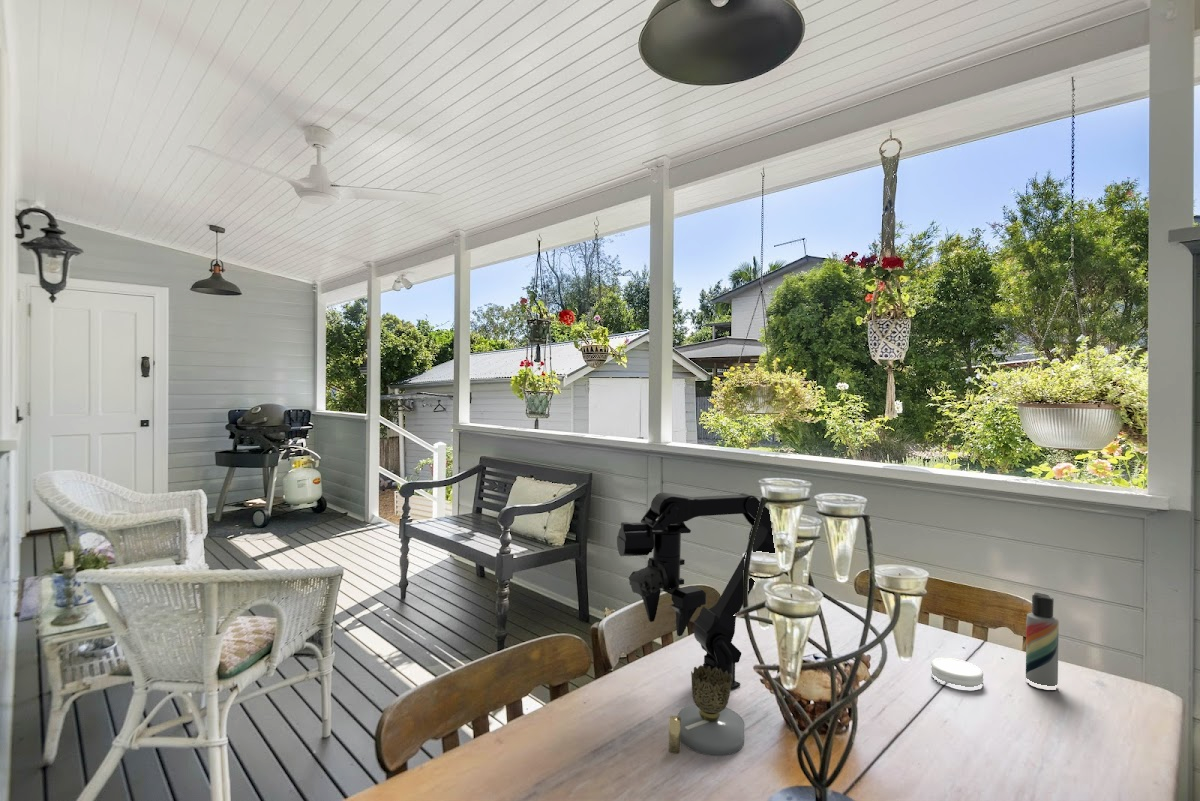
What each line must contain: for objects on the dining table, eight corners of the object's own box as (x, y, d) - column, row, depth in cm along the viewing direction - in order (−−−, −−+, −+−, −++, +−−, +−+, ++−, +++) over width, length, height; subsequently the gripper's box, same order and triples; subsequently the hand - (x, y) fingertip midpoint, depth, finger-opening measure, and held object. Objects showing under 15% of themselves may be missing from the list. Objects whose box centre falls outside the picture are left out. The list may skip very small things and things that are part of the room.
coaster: (928, 683, 132) (928, 667, 132) (933, 668, 141) (933, 653, 141) (982, 697, 127) (982, 680, 127) (984, 679, 135) (984, 664, 135)
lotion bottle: (1025, 677, 136) (1027, 588, 136) (1057, 684, 133) (1058, 593, 133) (1025, 686, 132) (1026, 594, 132) (1058, 694, 128) (1059, 600, 128)
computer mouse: (711, 713, 117) (711, 696, 117) (758, 742, 107) (758, 724, 107) (663, 730, 111) (663, 713, 111) (709, 763, 101) (709, 744, 101)
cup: (723, 732, 105) (725, 685, 105) (682, 720, 108) (685, 675, 108) (734, 715, 111) (737, 671, 111) (696, 704, 115) (698, 661, 115)
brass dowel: (675, 745, 106) (675, 714, 106) (682, 751, 104) (683, 719, 104) (666, 749, 105) (666, 717, 105) (673, 755, 103) (674, 722, 103)
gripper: (610, 548, 130) (608, 621, 130) (665, 569, 114) (663, 652, 114) (650, 543, 136) (649, 612, 136) (708, 562, 120) (707, 640, 120)
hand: (665, 628), depth 126 cm, fingers open, 9 cm apart
